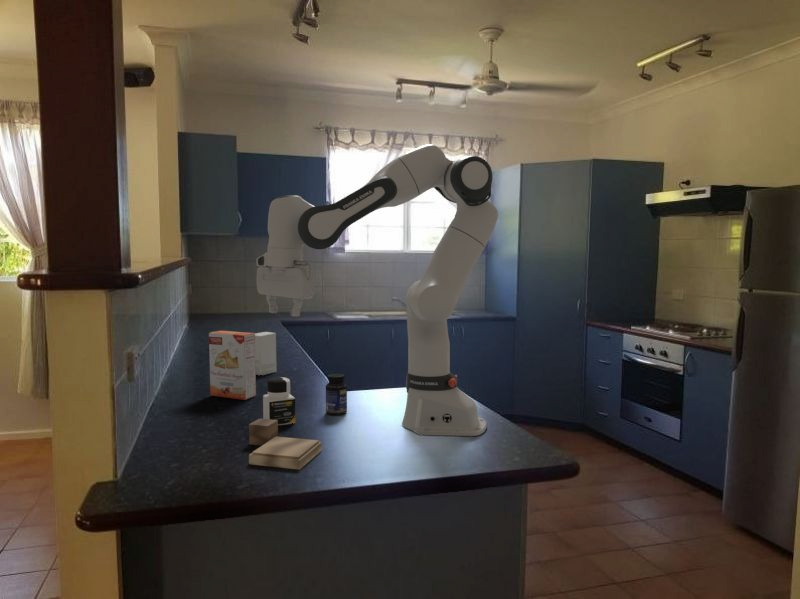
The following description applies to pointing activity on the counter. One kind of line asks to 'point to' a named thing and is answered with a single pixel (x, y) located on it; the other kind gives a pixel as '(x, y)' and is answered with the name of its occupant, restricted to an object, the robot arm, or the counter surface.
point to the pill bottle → (336, 395)
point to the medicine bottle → (279, 401)
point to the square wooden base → (286, 452)
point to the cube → (262, 431)
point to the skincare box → (265, 353)
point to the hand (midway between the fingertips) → (284, 314)
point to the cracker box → (232, 364)
